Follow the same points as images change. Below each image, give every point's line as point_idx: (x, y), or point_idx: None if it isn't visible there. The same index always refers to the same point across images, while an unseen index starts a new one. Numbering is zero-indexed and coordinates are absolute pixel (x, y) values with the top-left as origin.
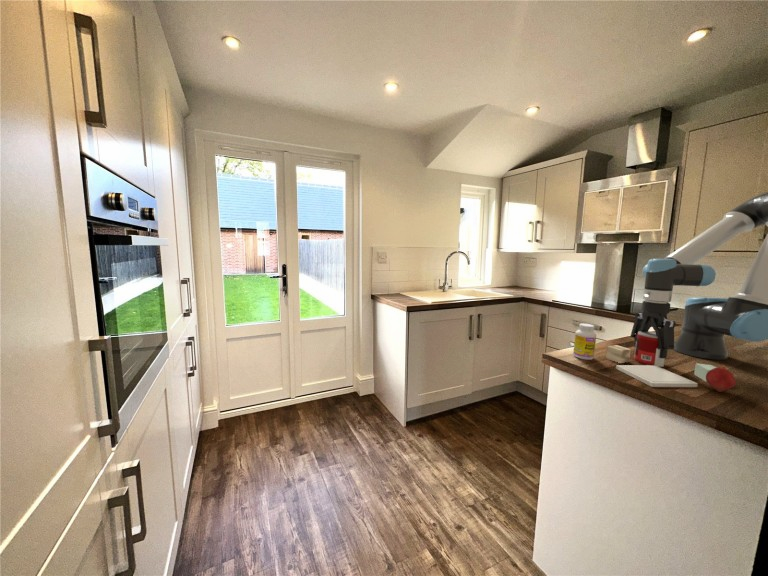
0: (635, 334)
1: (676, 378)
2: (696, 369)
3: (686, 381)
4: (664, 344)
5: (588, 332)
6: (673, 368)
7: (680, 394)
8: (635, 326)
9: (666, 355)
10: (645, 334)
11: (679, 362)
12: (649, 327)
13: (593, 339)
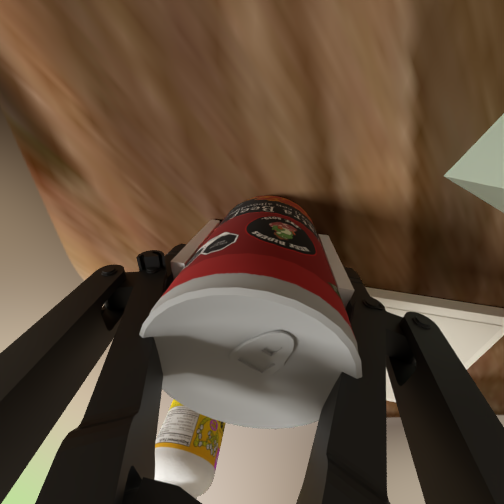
0: (109, 299)
1: (451, 343)
2: (480, 188)
3: (486, 340)
4: (391, 375)
5: (197, 496)
6: (352, 202)
7: (485, 383)
8: (67, 398)
9: (360, 280)
10: (232, 394)
11: (293, 42)
12: (142, 410)
13: (216, 457)
